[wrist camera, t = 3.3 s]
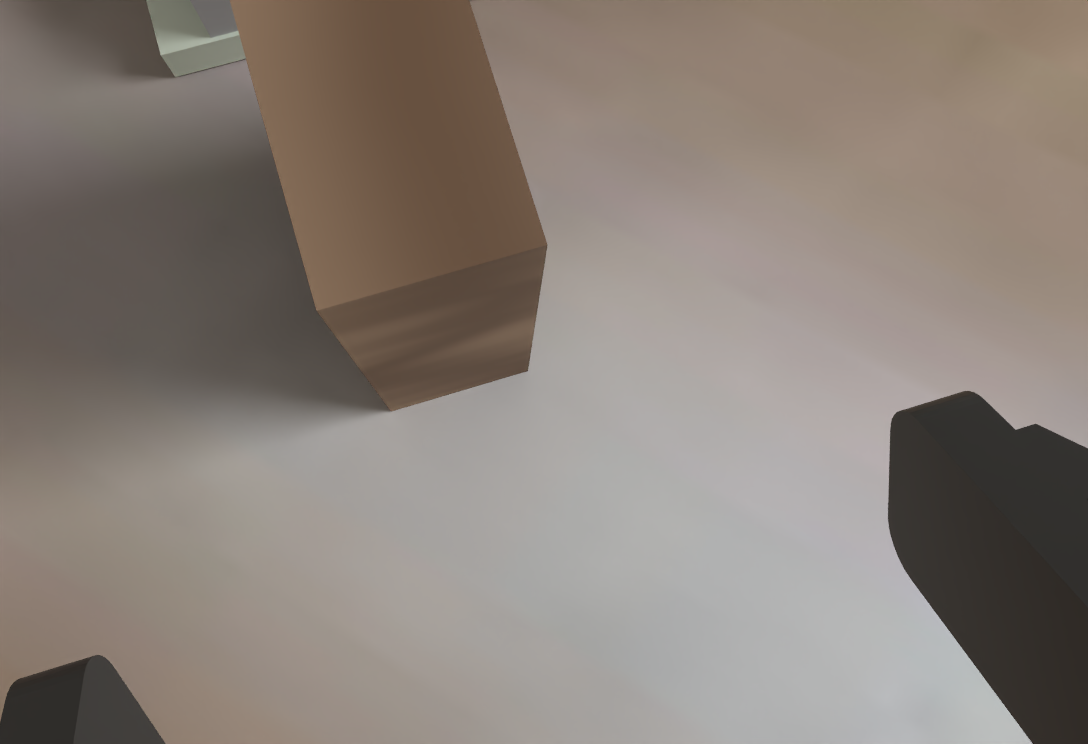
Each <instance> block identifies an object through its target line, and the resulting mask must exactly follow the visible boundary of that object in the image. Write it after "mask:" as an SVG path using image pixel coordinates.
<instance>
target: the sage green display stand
mask: <svg viewBox="0 0 1088 744" xmlns="http://www.w3.org/2000/svg"><path fill="white" fill-rule="evenodd" d="M146 2H147V5H148V9H149V13H150V17H151V21H152V24H153V28H154V32H155V36H156V39H157V43H158V47H159V51H160V54H161V56H162V58H163V59H164V61H165V62H166V64H167V65H168V67H169V68H170V70H171V71H172V73H173V74H174V76H175V77H178V76H182V75H185V74H189V73H193V72H197V71H201V70H205V69H208V68H212V67H216V66H220V65H224V64H228V63H231V62H235V61H239V60H243V59H246V57H245V54H244V50H243V46H242V43H241V39H240V36H239V32H238V29H237V25H236V21H235V18H234V14H233V11H232V7H231V3H230V0H146Z"/></svg>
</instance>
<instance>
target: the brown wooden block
mask: <svg viewBox="0 0 1088 744" xmlns="http://www.w3.org/2000/svg"><path fill="white" fill-rule="evenodd" d="M230 3H231V7H232V11H233V14H234V18H235V21H236V25H237V29H238V32H239V36H240V39H241V43H242V46H243V50H244V54H245V57H246V61H247V64H248V68H249V71H250V75H251V79H252V82H253V86H254V89H255V93H256V96H257V100H258V104H259V107H260V111H261V114H262V118H263V122H264V125H265V129H266V132H267V136H268V139H269V143H270V147H271V150H272V154H273V157H274V161H275V164H276V168H277V172H278V175H279V179H280V182H281V186H282V189H283V193H284V197H285V200H286V204H287V207H288V211H289V215H290V218H291V222H292V225H293V229H294V232H295V236H296V240H297V243H298V247H299V250H300V254H301V257H302V261H303V265H304V268H305V272H306V275H307V279H308V282H309V286H310V290H311V293H312V297H313V300H314V304H315V307H316V311H317V312H318V314H319V315H320V316H321V318H322V319H323V320H324V322H325V323H326V324H327V326H328V327H329V328H330V330H331V331H332V332H333V334H334V335H335V337H336V338H337V339H338V341H339V342H340V343H341V345H342V346H343V347H344V349H345V350H346V351H347V353H348V354H349V355H350V357H351V358H352V359H353V361H354V362H355V363H356V365H357V366H358V368H359V369H360V370H361V372H362V373H363V374H364V376H365V377H366V378H367V380H368V381H369V382H370V384H371V385H372V386H373V388H374V389H375V390H376V392H377V393H378V395H379V396H380V397H381V399H382V400H383V401H384V403H385V404H386V405H387V407H388V408H389V409H390V411H394V410H398V409H401V408H404V407H408V406H411V405H414V404H418V403H421V402H425V401H428V400H431V399H435V398H438V397H441V396H445V395H448V394H451V393H455V392H458V391H462V390H465V389H468V388H472V387H475V386H478V385H482V384H485V383H489V382H492V381H495V380H499V379H502V378H505V377H509V376H512V375H516V374H519V373H522V372H526V371H528V366H529V360H530V353H531V347H532V340H533V334H534V328H535V321H536V315H537V308H538V302H539V295H540V289H541V283H542V276H543V270H544V263H545V257H546V250H547V242H546V239H545V236H544V233H543V230H542V227H541V223H540V220H539V217H538V214H537V211H536V208H535V205H534V202H533V198H532V195H531V192H530V189H529V186H528V183H527V180H526V177H525V174H524V170H523V167H522V164H521V161H520V158H519V155H518V152H517V149H516V145H515V142H514V139H513V136H512V133H511V130H510V127H509V124H508V120H507V117H506V114H505V111H504V108H503V105H502V102H501V99H500V95H499V92H498V89H497V86H496V83H495V80H494V77H493V74H492V71H491V67H490V64H489V61H488V58H487V55H486V52H485V49H484V46H483V42H482V39H481V36H480V33H479V30H478V27H477V24H476V21H475V17H474V14H473V11H472V8H471V5H470V2H469V0H230Z"/></svg>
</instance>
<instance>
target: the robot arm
mask: <svg viewBox="0 0 1088 744" xmlns="http://www.w3.org/2000/svg"><path fill="white" fill-rule="evenodd" d="M888 522H889V529H890V534H891V538H892V541H893V544H894V547H895V550H896V552H897V555H898V557H899V559H900V561H901V563H902V565H903V567H904V569H905V571H906V572H907V574H908V575H909V577H910V578H911V580H912V581H913V583H914V584H915V585H916V587H917V588H918V589H919V591H920V592H921V593H922V595H923V596H924V597H925V599H926V600H927V601H928V603H929V604H930V605H931V607H932V608H933V609H934V611H935V612H936V614H937V615H938V616H939V618H940V619H941V620H942V622H943V623H944V624H945V626H946V627H947V628H948V630H949V631H950V632H951V634H952V635H953V636H954V638H955V639H956V641H957V642H958V643H959V645H960V646H961V647H962V649H963V650H964V651H965V653H966V654H967V655H968V657H969V658H970V659H971V661H972V662H973V663H974V665H975V666H976V668H977V669H978V670H979V672H980V673H981V674H982V676H983V677H984V678H985V680H986V681H987V682H988V684H989V685H990V686H991V688H992V689H993V690H994V692H995V693H996V694H997V696H998V697H999V699H1000V700H1001V701H1002V703H1003V704H1004V705H1005V707H1006V708H1007V709H1008V711H1009V712H1010V713H1011V715H1012V716H1013V717H1014V719H1015V720H1016V721H1017V723H1018V724H1019V726H1020V727H1021V728H1022V730H1023V731H1024V732H1025V734H1026V735H1027V736H1028V738H1029V739H1030V740H1031V742H1032V743H1033V744H1088V448H1085V447H1083V446H1081V445H1079V444H1077V443H1075V442H1073V441H1071V440H1069V439H1067V438H1064V437H1062V436H1060V435H1058V434H1056V433H1054V432H1052V431H1050V430H1048V429H1046V428H1044V427H1041V426H1039V425H1037V424H1034V425H1030V426H1027V427H1024V428H1021V429H1018V430H1015V429H1014V428H1013V427H1012V426H1011V425H1010V424H1009V423H1008V422H1007V421H1006V420H1005V419H1004V418H1003V417H1002V416H1001V415H1000V414H999V413H998V412H997V411H995V410H994V409H993V408H992V407H991V406H990V405H989V404H988V403H987V402H986V401H985V400H984V399H983V398H982V397H981V396H979V395H977V394H976V393H974V392H971V391H964V392H960V393H957V394H954V395H951V396H947V397H944V398H941V399H938V400H934V401H931V402H928V403H925V404H921V405H918V406H915V407H912V408H908V409H905V410H902V411H899V412H897V413H896V414H895V415H894V416H893V418H892V422H891V429H890V464H889V502H888ZM0 744H165V742H164V741H163V739H162V738H161V736H160V735H159V733H158V732H157V730H156V729H155V727H154V726H153V724H152V723H151V721H150V720H149V718H148V717H147V716H146V714H145V713H144V711H143V710H142V708H141V707H140V705H139V704H138V702H137V701H136V699H135V698H134V696H133V695H132V693H131V692H130V690H129V689H128V687H127V686H126V684H125V683H124V681H123V680H122V678H121V677H120V676H119V674H118V673H117V671H116V670H115V668H114V667H113V665H112V664H111V663H110V662H109V661H108V660H107V659H106V658H105V657H103V656H100V655H96V656H92V657H89V658H86V659H82V660H79V661H76V662H73V663H69V664H66V665H63V666H60V667H56V668H53V669H50V670H46V671H43V672H40V673H37V674H33V675H30V676H27V677H24V678H20V679H18V680H16V681H15V682H14V683H13V684H12V685H11V687H10V689H9V691H8V693H7V697H6V700H5V704H4V708H3V713H2V717H1V721H0Z"/></svg>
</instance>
